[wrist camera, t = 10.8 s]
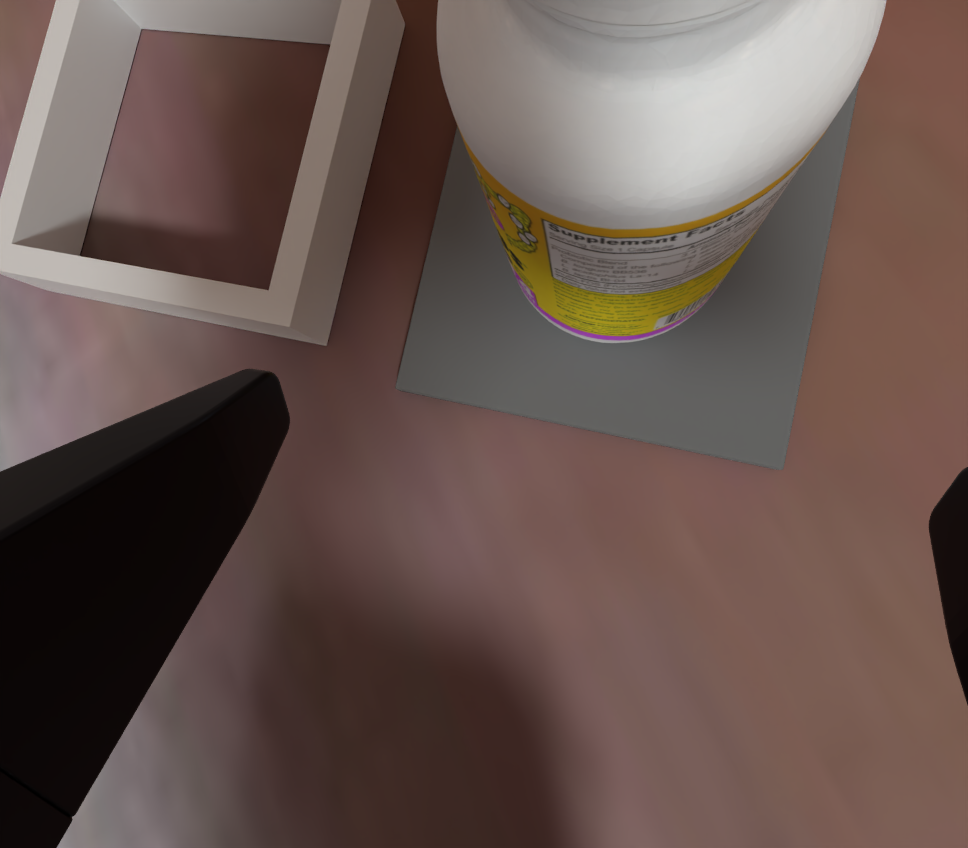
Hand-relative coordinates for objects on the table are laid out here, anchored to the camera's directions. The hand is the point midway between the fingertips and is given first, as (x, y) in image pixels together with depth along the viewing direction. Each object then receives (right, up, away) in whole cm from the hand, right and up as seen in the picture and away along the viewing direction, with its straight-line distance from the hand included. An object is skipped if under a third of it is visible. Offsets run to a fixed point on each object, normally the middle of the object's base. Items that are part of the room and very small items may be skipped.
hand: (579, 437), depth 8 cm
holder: (-11, +10, +14) cm, 20 cm away
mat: (+3, +6, +11) cm, 13 cm away
